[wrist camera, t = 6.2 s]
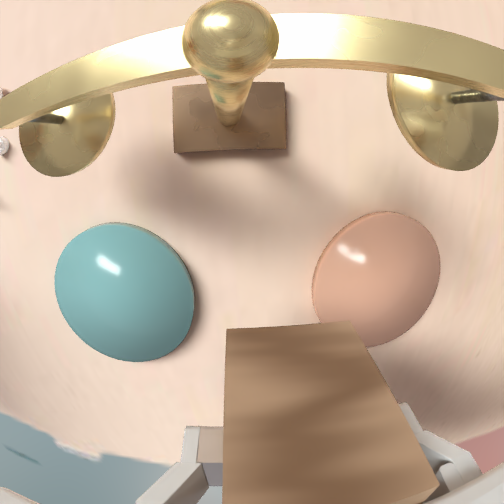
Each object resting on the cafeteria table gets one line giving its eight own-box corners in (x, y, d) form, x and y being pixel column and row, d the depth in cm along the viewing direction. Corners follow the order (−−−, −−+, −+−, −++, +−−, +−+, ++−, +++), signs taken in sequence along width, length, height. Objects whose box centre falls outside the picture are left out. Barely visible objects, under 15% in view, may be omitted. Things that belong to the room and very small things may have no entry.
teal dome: (187, 217, 23) (185, 220, 22) (202, 354, 27) (201, 362, 26) (48, 228, 22) (41, 231, 21) (80, 351, 27) (76, 358, 26)
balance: (373, 88, 21) (572, 41, 3) (374, 158, 23) (585, 201, 5) (84, 99, 19) (-110, 62, 2) (86, 170, 21) (-115, 232, 4)
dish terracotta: (441, 212, 25) (448, 214, 24) (419, 330, 29) (425, 336, 28) (314, 212, 24) (318, 215, 23) (307, 347, 28) (310, 355, 27)
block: (349, 320, 12) (440, 484, 4) (334, 402, 14) (380, 540, 6) (226, 328, 12) (222, 528, 4) (234, 411, 13) (237, 563, 6)
